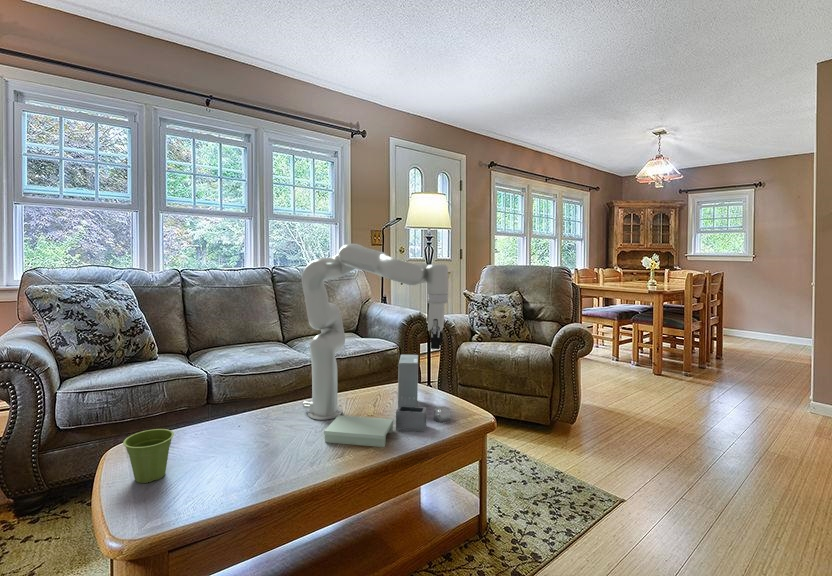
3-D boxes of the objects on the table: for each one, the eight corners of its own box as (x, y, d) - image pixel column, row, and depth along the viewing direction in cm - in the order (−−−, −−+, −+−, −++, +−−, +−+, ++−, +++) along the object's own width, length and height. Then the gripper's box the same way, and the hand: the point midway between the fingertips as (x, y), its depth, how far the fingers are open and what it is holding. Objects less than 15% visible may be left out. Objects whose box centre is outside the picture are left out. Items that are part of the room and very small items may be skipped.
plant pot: (120, 492, 112) (118, 450, 111) (129, 471, 122) (128, 432, 121) (172, 483, 116) (171, 442, 115) (177, 463, 127) (176, 426, 126)
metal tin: (433, 422, 160) (433, 411, 160) (435, 416, 166) (435, 406, 165) (449, 423, 159) (449, 412, 159) (450, 417, 165) (450, 407, 164)
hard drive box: (417, 414, 168) (417, 363, 166) (397, 413, 168) (397, 363, 166) (417, 400, 183) (418, 354, 182) (399, 400, 183) (400, 353, 182)
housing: (395, 430, 152) (395, 411, 151) (399, 424, 158) (399, 405, 157) (424, 432, 150) (424, 413, 150) (426, 426, 156) (426, 407, 156)
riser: (324, 442, 142) (324, 431, 141) (338, 426, 155) (338, 415, 155) (383, 447, 138) (383, 435, 138) (393, 430, 152) (393, 419, 152)
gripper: (429, 296, 164) (429, 340, 165) (423, 301, 146) (423, 350, 148) (449, 296, 162) (449, 341, 164) (445, 301, 145) (445, 351, 147)
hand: (436, 345), depth 156 cm, fingers open, 9 cm apart
